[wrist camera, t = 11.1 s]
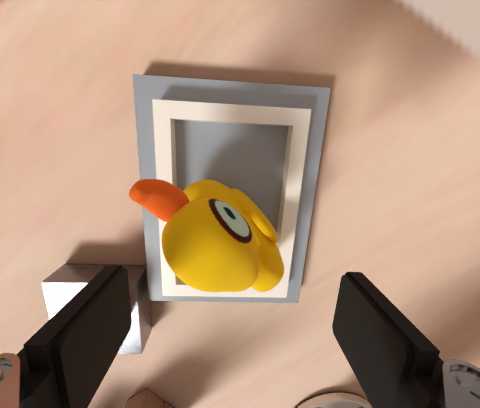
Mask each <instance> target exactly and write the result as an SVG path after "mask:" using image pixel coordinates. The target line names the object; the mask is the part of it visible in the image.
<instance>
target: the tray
mask: <svg viewBox="0 0 480 408" xmlns="http://www.w3.org/2000/svg"><path fill="white" fill-rule="evenodd" d="M133 87H134V100H135V114H136V128H137V141H138V155H139V169H140V180H142V179H159V180H164V181H167V182H169V183H171V184H172V185H174V186H176V187H178V188H179V189H181V190H182V191H184V190H185V189H186V188H187V187H188V186H189V185H191V184H192V183H194V182H196V181H199V180H204V179H209V180H214V181H217V182H219V183H221V184H223V185H225V186H227V187H228V188H230V189H231V188H236V189H238V190H240V191H242V192H243V193H244V194H246V195H247V196H248V197H249V198H250V199H251V200H252V201H253V202H254V203H255V204H256V205H257V207H258V208H259V209H260V210H261V211H262V213H263V214H264V215H265V216H266V218H267V219H268V220H269V222H270V223H271V224H272V226H273V228H274V229H275V231H276V234H277V237H278V243H276V244H277V246H278V249H279V252H280V255H281V258H282V261H283V264H284V275H283V277H282V279H281V281H280V282H279V283H278V284H277V285H276V286H275V287H274V288H272V289H271V290H269V291H267V292H259V291H257V290H255V289H254V288H252V287H249V288H248V289H246V290H244V291H240V292H205V291H201V290H197V289H195V288H192V287H190V286H189V285H187V284H185V283H184V282H183V281H182V280H180V279H179V278H178V277H177V276H176V275H175V274H174V272H173V271H172V270H171V268H170V267H169V265H168V263H167V261H166V259H165V257H164V254H163V250H162V242H161V238H162V232H163V229H164V227H165V225H166V223H167V222H165V221H162V220H161V219H159V218H157V217H156V216H155V215H153V214H152V213H151V212H149V211H148V210H147V209H146V208H144V207H143V206H142V210H143V223H144V237H145V251H146V264H147V278H148V292H149V301H207V302H279V303H298V302H299V295H300V288H301V282H302V275H303V269H304V262H305V255H306V249H307V242H308V236H309V229H310V222H311V216H312V209H313V202H314V196H315V189H316V183H317V176H318V169H319V163H320V156H321V150H322V143H323V136H324V130H325V123H326V117H327V110H328V103H329V97H330V90H331V88H326V87H312V86H297V85H282V84H268V83H253V82H239V81H224V80H210V79H195V78H180V77H166V76H151V75H137V74H133Z"/></svg>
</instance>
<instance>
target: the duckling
mask: <svg viewBox="0 0 480 408" xmlns="http://www.w3.org/2000/svg"><path fill="white" fill-rule="evenodd" d="M129 196H130V198H131V199H132V200H133V201H135V202H137V203H139V204H140V205H142V206H143V207H144V208H146V209H147V210H148V211H149V212H151V213H152V214H153V215H155V216H156V217H157V218H159V219H161V220H162V221H165V222H167V223H166V225H165V227H164V229H163V232H162V238H161V242H162V250H163V254H164V257H165V259H166V261H167V263H168V265H169V267H170V268H171V270H172V271H173V272H174V274H175V275H176V276H177V277H178V278H179V279H180V280H182V281H183V282H184V283H185V284H187V285H189V286H190V287H192V288H195V289H197V290H201V291H205V292H240V291H244V290H246V289H248V288H249V287H252V288H254V289H255V290H257V291H259V292H267V291H269V290H271V289H272V288H274V287H275V286H276V285H277V284H278V283H279V282H280V281H281V279H282V277H283V275H284V264H283V261H282V258H281V255H280V252H279V249H278V246H277V244H276V243H278V237H277V234H276V231H275V229H274V228H273V226H272V224H271V223H270V222H269V220H268V219H267V218H266V216H265V215H264V214H263V213H262V211H261V210H260V209H259V208H258V207H257V205H256V204H255V203H254V202H253V201H252V200H251V199H250V198H249V197H248V196H247V195H246V194H244V193H243V192H242V191H240V190H238V189H236V188H231V189H230V188H228V187H227V186H225V185H223V184H221V183H219V182H217V181H214V180H209V179H204V180H199V181H196V182H194V183H192V184H191V185H189V186H188V187H187V188H186V189H185V190H184V191H182V190H181V189H179V188H178V187H176V186H174V185H172V184H171V183H169V182H167V181H164V180H159V179H142V180H139V181H138V182H136V183H135V184H134V185H133V186H132V188H131V189H130V191H129Z"/></svg>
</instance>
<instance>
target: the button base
mask: <svg viewBox="0 0 480 408" xmlns="http://www.w3.org/2000/svg"><path fill="white" fill-rule="evenodd" d="M105 266H106V265H98V264H64V265H63V266H62V267H60V268H59V269H58V270H56V271H55V272H54V273H53V274H51V275H50V276H49V277H47V278H46V279H45V280H44V281H42V282H41V284H42V288H43V293H44V297H45V301H46V306H47V310H48V314H49V319H51V318H52V317H53V316H54V315H55V314H56V313H57V312H58V311H59V310H60V309H61V308H62V307H63V306H64V305H65V304H67V303H68V302H69V301H70V300H71V299H72V298H73V297H74V296H75V295H76V294H77V293H78V292H79V291H80V290H81V289H82V288H83V287H84V286H85V285H86V284H87V283H88V282H89V281H90V280H91V279H93V278H94V277H95V276H96V275H97V274H98V273H99V272H100V271H101V270H102V269H103V268H104V267H105ZM122 266H123V267H124V269H127V271H128V282H129V294H130V306H131V318H132V324H131V329H130V331H129V333H128V335H127V337H126V338H125V340H124V342H123V344H122V346H121V347H120V349H119V351H118V353H142V352H143V350H144V347H145V345H146V342H147V340H148V337H149V335H150V332H151V330H152V323H151V310H150V301H149V292H148V278H147V266H143V265H122Z"/></svg>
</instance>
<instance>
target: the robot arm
mask: <svg viewBox="0 0 480 408" xmlns="http://www.w3.org/2000/svg"><path fill="white" fill-rule="evenodd" d="M131 324H132V318H131V306H130V294H129V282H128V271H127V269H124V267H123V266H122V265H106V266H105V267H104V268H103V269H102V270H101V271H100V272H99V273H98V274H97V275H96V276H95V277H94V278H93V279H91V280H90V281H89V282H88V283H87V284H86V285H85V286H84V287H83V288H82V289H81V290H80V291H79V292H78V293H77V294H76V295H75V296H74V297H73V298H72V299H71V300H70V301H69V302H68V303H67V304H65V305H64V306H63V307H62V308H61V309H60V310H59V311H58V312H57V313H56V314H55V315H54V316H53V317H52V318H51V319H50V320H49V321H48V322H47V323H46V324H45V325H44V326H43V327H42V328H41V329H40V330H38V331H37V332H36V333H35V334H34V335H33V336H32V337H31V338H30V339H29V340H28V341H27V342H26V343H25V344H24V348H23V349H22V350H21V351H20V352H19V353H18V354H17V355H15V354H12V353H3V354H0V408H87V407H88V405H89V404H90V402H91V400H92V398H93V396H94V395H95V393H96V391H97V389H98V387H99V386H100V384H101V382H102V380H103V378H104V376H105V375H106V373H107V371H108V369H109V367H110V366H111V364H112V362H113V360H114V358H115V357H116V355H117V353H118V351H119V349H120V347H121V346H122V344H123V342H124V340H125V338H126V337H127V335H128V333H129V331H130V329H131ZM332 327H333V333H334V336H335V337H336V339H337V341H338V343H339V345H340V347H341V349H342V351H343V353H344V355H345V356H346V358H347V360H348V362H349V364H350V366H351V368H352V370H353V372H354V373H355V375H356V377H357V379H358V381H359V383H360V385H361V387H362V389H363V391H364V392H365V394H366V396H367V398H368V400H369V402H370V403H369V402H368V401H367V400H365V399H363V398H362V397H360V396H357V395H354V394H350V393H328V394H323V395H319V396H316V397H314V398H311V399H309V400H307V401H305V402H304V403H302V404H300V405H299V406H298V407H297V408H480V369H479V368H477V367H475V366H474V365H472V364H469V363H466V362H463V361H459V360H454V359H453V360H446V361H445V362H443V361H442V360H441V359H440V358H439V357H438V356H439V353H440V351H439V350H438V349H437V348H436V347H435V346H434V345H433V344H432V343H431V342H430V341H429V340H428V339H427V338H426V337H425V336H424V335H423V334H422V333H421V332H420V331H419V330H418V329H417V328H416V327H415V326H414V325H413V324H412V323H411V322H410V321H409V320H408V319H407V318H406V317H405V316H404V315H403V314H402V313H401V312H400V311H399V310H398V309H397V308H396V307H395V306H394V305H393V304H392V303H391V302H390V301H389V300H388V299H387V298H386V297H385V296H384V295H383V294H382V293H381V292H380V291H379V290H378V289H377V288H376V287H375V286H374V285H373V284H372V283H371V282H370V281H369V280H368V279H367V278H366V277H365V276H364V274H362V273H361V272H347V273H346V274H345V275H343V276H342V278H341V283H340V288H339V293H338V299H337V304H336V309H335V315H334V320H333V326H332Z"/></svg>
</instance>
